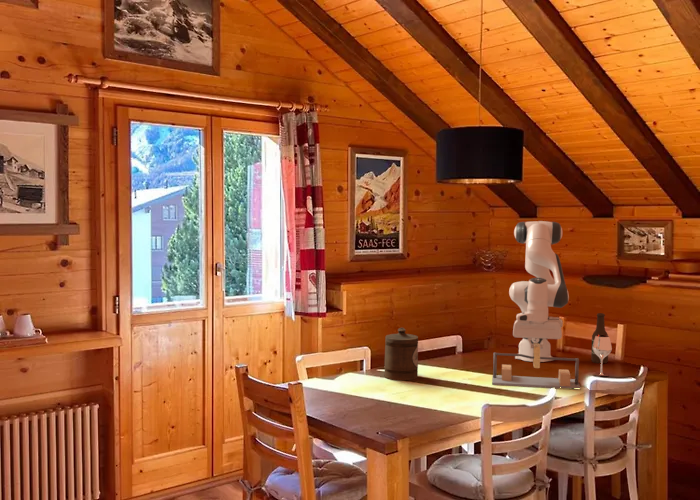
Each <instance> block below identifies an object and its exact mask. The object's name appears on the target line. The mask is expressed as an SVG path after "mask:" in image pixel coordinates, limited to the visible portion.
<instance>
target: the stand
mask: <svg viewBox="0 0 700 500" xmlns="http://www.w3.org/2000/svg"><path fill="white" fill-rule="evenodd" d="M497 353H498V352H493V358H492V359H493V362H492V363H493V368H492V369H493V370H492V371H493V372H492V373H493V374H492V376H491V377H492V380H491V384H492V385H491V386H506V387H507V386H508V387H527V388H541V389H542V388H546V389H552V388H551V387H555V388H554V389H559V388H560V387H561V388H580V389H581V386H580V383H579V376H580V375H579V373H580V369H579V366H580V359H579V358H578V357H577V358H575V359H576V361H574V362H575V365H574V370H575V371H574V378H571V373H570V370H569V369H558V377H555V378H554V377H541V376H539V377H538V376H524V375H522V376H521V375H512V364H501V374H498V375H497V361H498V360H497V359H498V355H497Z"/></svg>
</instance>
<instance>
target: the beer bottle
mask: <svg viewBox="0 0 700 500" xmlns="http://www.w3.org/2000/svg"><path fill="white" fill-rule="evenodd" d="M605 316H606V314H605V313H603V312H602V313H601V312H599V313H597V314H596V317H597V318H596V327H595V330H594V331H593V333H592V335H591V336H592V337H591V351H590V353H591V354H590V355H591V356H590V357H591V358H590V359H591V363H594V364H599V363H601V360H600V358H599V357H598V356H597V355H596V354H595V353H594V351H593V349H592V347H593V343H594V339H595V336H596V335H607V336H609V334H608V332H607V331H606V326H605V324H606V323H605ZM607 362H608V363H609V355H608V356H606V357H605V358H604V359H603V363H605V364H607Z"/></svg>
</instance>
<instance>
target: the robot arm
mask: <svg viewBox="0 0 700 500" xmlns="http://www.w3.org/2000/svg"><path fill="white" fill-rule="evenodd" d="M513 235H514V238H515V241H517V243H519V244H525V260H524V261H525V262H524V268H525V269H524V270H526V272H527V273H528V274H530V275H532V276H534V277H532V278H530V279H529V280H528V281H527V280H526V281H525V280H521V281H516V282H513V283H511V285H510V287H509V291H508V294H509V297H510V299H511V301H512V302H514V303H515V304H516V305H517V306H518V307H519V309H520V311H521V312H520V313H516V316H515V318H516V320H514V323H513V327H512V329H513V330H512V336H513V337H514V338H520V339H521V338H522V339H521V340H520V342H519V343H518V353H517V354H523V355H527V356H532V357H533V348H534V343H538V344H540V357H553V356H552V355H551V343H550V342H549V341H548V340H561V339H562V337H563V333H562V328H563V324H564V321H563V319H562V318H560V317H559V316H549V308H550V307H553V308H560V309H561V308H563V307H565V306H566V305H567V304H569V299H570V296H569V291H568V288H567V284H566V281H565V276H564V272H563V268H562V267H563V266H562V264H561V260H560V257H559V255H558V254H557V253H555V252H554V250H553V248H552V245H556V244H558V243H559V242H560V241H561V239H562V237H563V228H562V225H561V224H560V222H556V221H548V220H546V221H545V220H544V221H543V220H538V221H536V220H535V221H533V220H532V221H520V222H517V224H516V226H515V227H514V230H513ZM550 271H551V272H552V275H553V276H552V275H551V272H550ZM514 359H515V360H516V359H517V360H522V361H524V362H532V363H533V359H530V358H526V357H522V356H514ZM551 361H553V360H549V359H540V363H544V362H546V363H547V362H551Z"/></svg>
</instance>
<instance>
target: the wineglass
mask: <svg viewBox="0 0 700 500" xmlns="http://www.w3.org/2000/svg"><path fill="white" fill-rule="evenodd" d="M592 349H593V351H594V353H595V354H596V355H597V356H598V357H599V358H600V360H601V364H600V374H599V375H604V374H605V373H603V359H604V358H605V357H606V356H608V357H609V355H610V354H611V352H612V349H613V348H612V342H611V338H610V336H609V335H608V336H607V335H596V336H595V339H594V343H593V347H592V346H591V350H592Z"/></svg>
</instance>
